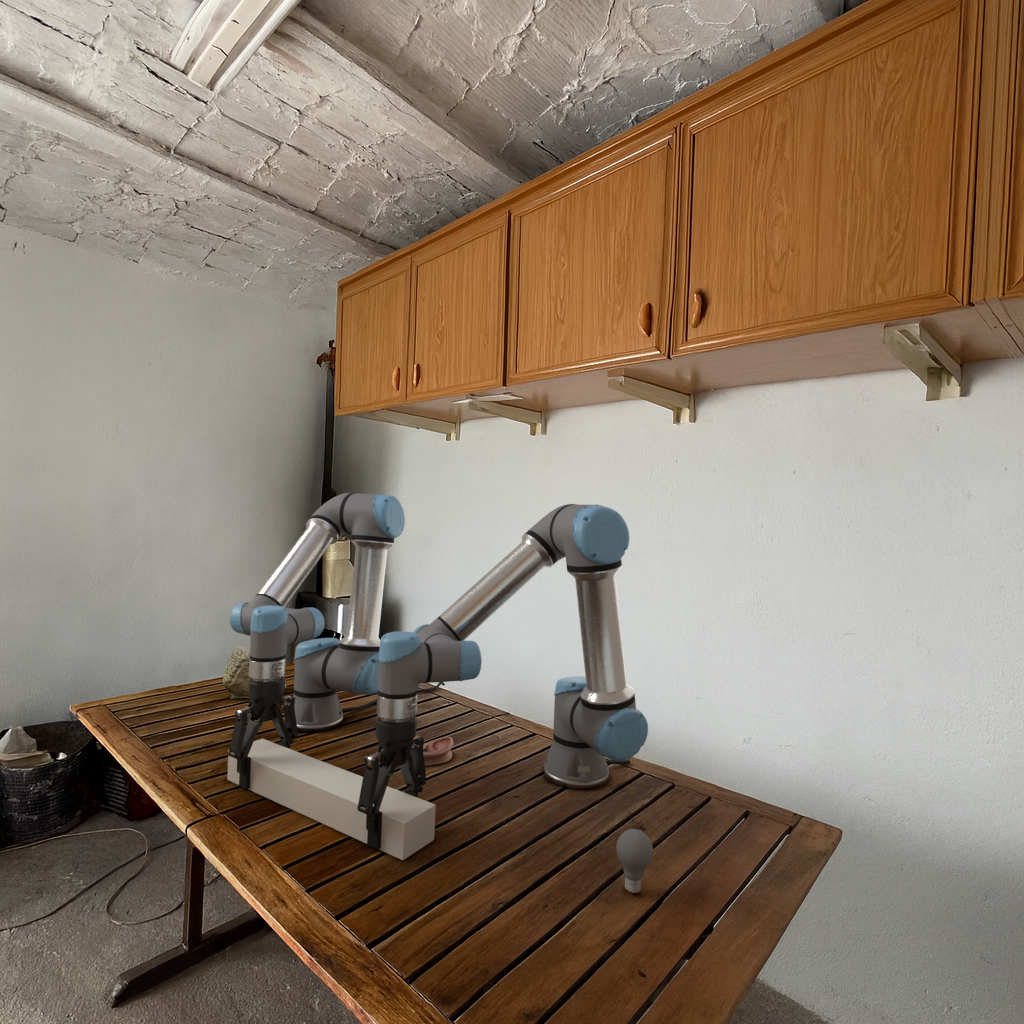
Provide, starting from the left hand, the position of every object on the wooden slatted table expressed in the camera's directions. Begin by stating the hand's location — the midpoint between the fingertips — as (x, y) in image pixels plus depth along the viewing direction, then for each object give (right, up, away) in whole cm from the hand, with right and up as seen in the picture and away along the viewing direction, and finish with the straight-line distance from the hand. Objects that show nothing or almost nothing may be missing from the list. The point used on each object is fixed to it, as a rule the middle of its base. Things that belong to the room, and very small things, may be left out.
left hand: (263, 779), depth 140 cm
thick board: (+16, -1, -10) cm, 19 cm away
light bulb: (+75, -4, -34) cm, 82 cm away
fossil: (-26, +2, +58) cm, 64 cm away
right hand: (+32, -2, -21) cm, 38 cm away
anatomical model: (+33, -2, +16) cm, 37 cm away
